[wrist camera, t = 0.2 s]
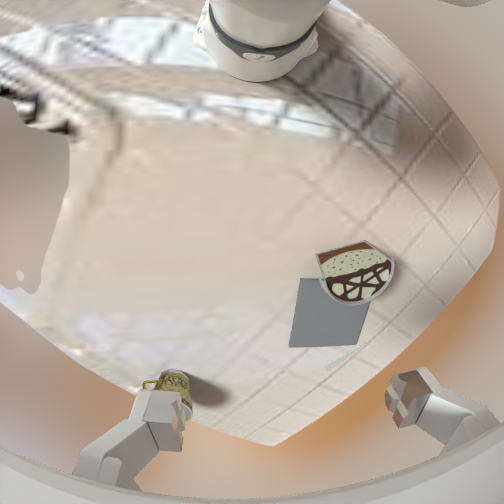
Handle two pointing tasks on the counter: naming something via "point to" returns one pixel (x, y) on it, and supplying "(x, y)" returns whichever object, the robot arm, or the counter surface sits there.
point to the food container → (355, 272)
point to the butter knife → (342, 358)
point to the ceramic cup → (175, 388)
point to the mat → (324, 318)
